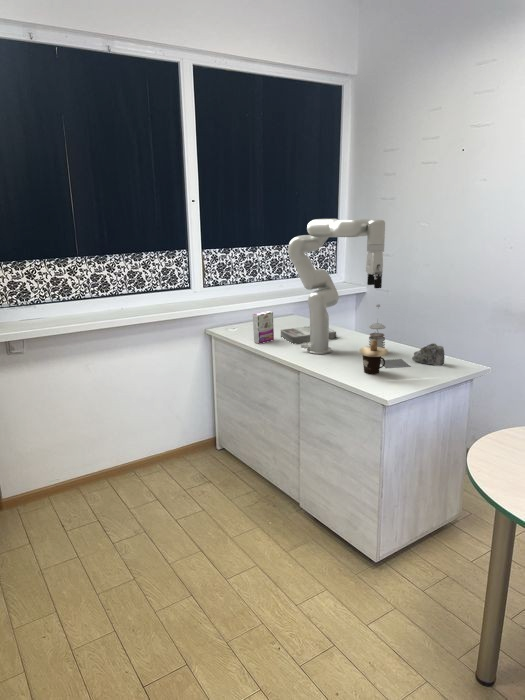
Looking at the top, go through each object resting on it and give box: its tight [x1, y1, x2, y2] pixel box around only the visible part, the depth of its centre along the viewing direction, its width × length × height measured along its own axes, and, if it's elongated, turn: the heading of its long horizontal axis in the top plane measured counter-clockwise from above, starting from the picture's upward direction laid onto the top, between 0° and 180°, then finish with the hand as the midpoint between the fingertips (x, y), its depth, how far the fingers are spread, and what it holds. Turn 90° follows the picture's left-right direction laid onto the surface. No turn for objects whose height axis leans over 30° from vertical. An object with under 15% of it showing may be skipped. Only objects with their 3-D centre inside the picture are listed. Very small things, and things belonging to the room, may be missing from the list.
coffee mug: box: [362, 355, 386, 375], centre depth 221 cm, size 12×9×10 cm
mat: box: [380, 358, 412, 369], centre depth 235 cm, size 12×12×1 cm
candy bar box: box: [252, 310, 275, 344], centre depth 279 cm, size 11×5×16 cm, turn 131°
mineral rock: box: [411, 342, 445, 366], centre depth 234 cm, size 13×11×10 cm
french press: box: [368, 303, 386, 349], centre depth 249 cm, size 10×12×25 cm
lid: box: [359, 339, 389, 358], centre depth 218 cm, size 12×12×6 cm
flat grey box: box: [280, 325, 338, 345], centre depth 286 cm, size 18×27×4 cm
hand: (374, 286), depth 229 cm, fingers open, 9 cm apart
